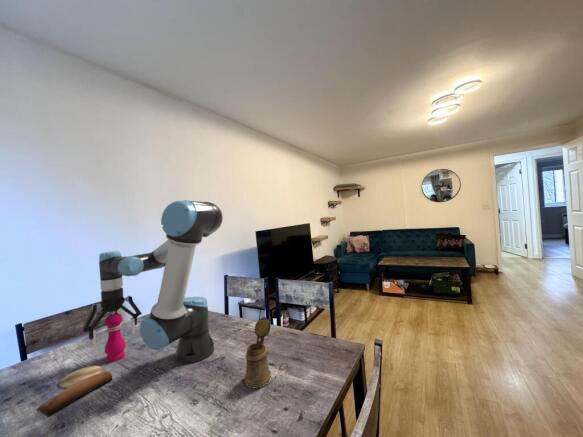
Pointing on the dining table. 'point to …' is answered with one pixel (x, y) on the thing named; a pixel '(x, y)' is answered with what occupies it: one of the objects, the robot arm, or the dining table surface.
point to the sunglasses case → (74, 392)
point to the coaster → (79, 376)
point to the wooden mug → (258, 357)
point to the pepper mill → (114, 338)
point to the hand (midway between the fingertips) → (114, 339)
